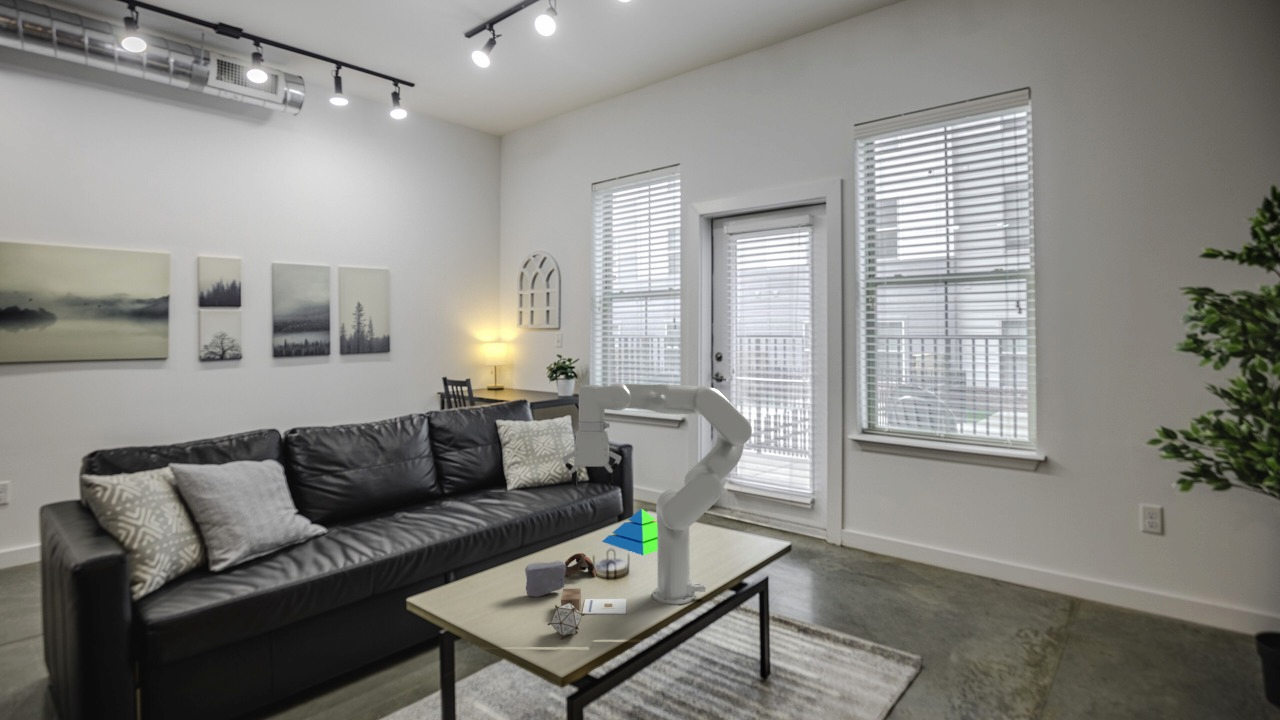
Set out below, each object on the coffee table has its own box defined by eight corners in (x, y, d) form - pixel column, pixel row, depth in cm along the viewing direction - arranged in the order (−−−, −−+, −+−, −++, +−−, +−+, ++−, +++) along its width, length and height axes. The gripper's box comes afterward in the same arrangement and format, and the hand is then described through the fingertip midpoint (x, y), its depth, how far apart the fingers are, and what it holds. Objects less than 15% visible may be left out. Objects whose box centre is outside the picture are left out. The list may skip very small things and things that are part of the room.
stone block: (526, 601, 182) (525, 567, 182) (524, 595, 186) (524, 562, 186) (566, 597, 185) (566, 563, 185) (564, 591, 189) (564, 558, 189)
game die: (552, 622, 166) (537, 632, 156) (564, 592, 166) (550, 599, 157) (581, 638, 163) (568, 648, 154) (593, 607, 164) (581, 615, 154)
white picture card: (626, 599, 183) (626, 598, 183) (625, 614, 173) (625, 612, 173) (585, 600, 183) (585, 598, 183) (582, 614, 173) (582, 612, 173)
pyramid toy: (595, 546, 236) (594, 509, 236) (640, 532, 254) (640, 497, 254) (643, 561, 219) (643, 520, 219) (688, 545, 237) (688, 508, 237)
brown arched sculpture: (598, 582, 197) (586, 561, 196) (571, 594, 198) (559, 574, 196) (598, 561, 209) (587, 541, 207) (573, 573, 210) (561, 554, 208)
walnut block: (580, 588, 179) (579, 599, 171) (580, 605, 179) (579, 617, 171) (563, 588, 179) (560, 599, 171) (563, 606, 179) (561, 617, 171)
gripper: (621, 425, 187) (621, 482, 187) (563, 425, 187) (563, 483, 187) (621, 428, 180) (621, 488, 180) (560, 428, 179) (560, 488, 180)
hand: (591, 485), depth 183 cm, fingers open, 9 cm apart
